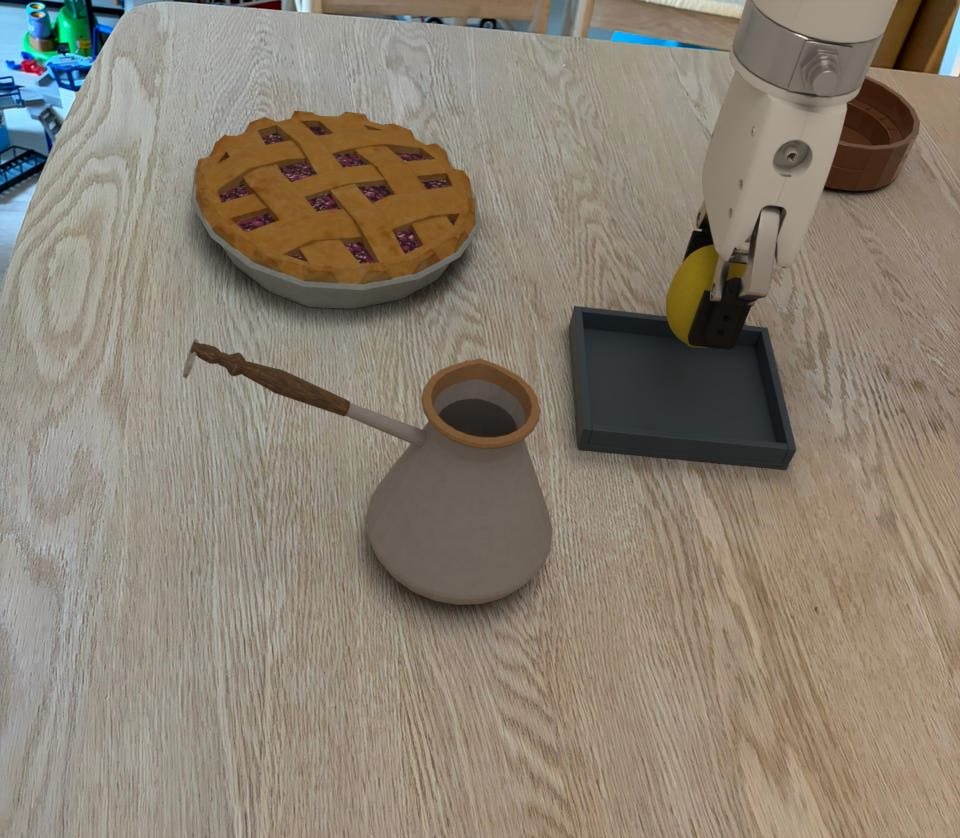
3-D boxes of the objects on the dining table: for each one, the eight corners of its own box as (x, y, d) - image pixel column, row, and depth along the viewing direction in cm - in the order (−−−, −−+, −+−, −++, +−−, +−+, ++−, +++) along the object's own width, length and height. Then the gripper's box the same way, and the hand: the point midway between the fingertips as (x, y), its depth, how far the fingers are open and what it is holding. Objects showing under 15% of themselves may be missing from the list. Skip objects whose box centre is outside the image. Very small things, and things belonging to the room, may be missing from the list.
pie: (527, 271, 85) (538, 216, 81) (289, 358, 76) (288, 300, 72) (375, 131, 94) (378, 75, 90) (144, 194, 84) (136, 133, 80)
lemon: (644, 355, 74) (677, 256, 67) (664, 310, 77) (697, 211, 70) (720, 382, 73) (760, 284, 67) (736, 335, 76) (776, 238, 70)
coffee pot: (540, 494, 71) (587, 310, 59) (548, 633, 65) (603, 459, 53) (216, 466, 69) (196, 270, 57) (190, 609, 62) (161, 421, 50)
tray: (759, 347, 83) (767, 327, 82) (786, 470, 76) (797, 450, 74) (568, 326, 82) (574, 305, 80) (577, 449, 74) (583, 428, 73)
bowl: (880, 120, 107) (900, 76, 103) (913, 203, 99) (936, 157, 95) (744, 102, 105) (759, 56, 102) (766, 184, 97) (783, 137, 94)
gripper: (905, 138, 54) (776, 406, 68) (839, -19, 63) (739, 245, 78) (762, 119, 53) (663, 394, 67) (718, -37, 63) (639, 232, 77)
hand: (704, 312), depth 73 cm, fingers closed on lemon, 5 cm apart
